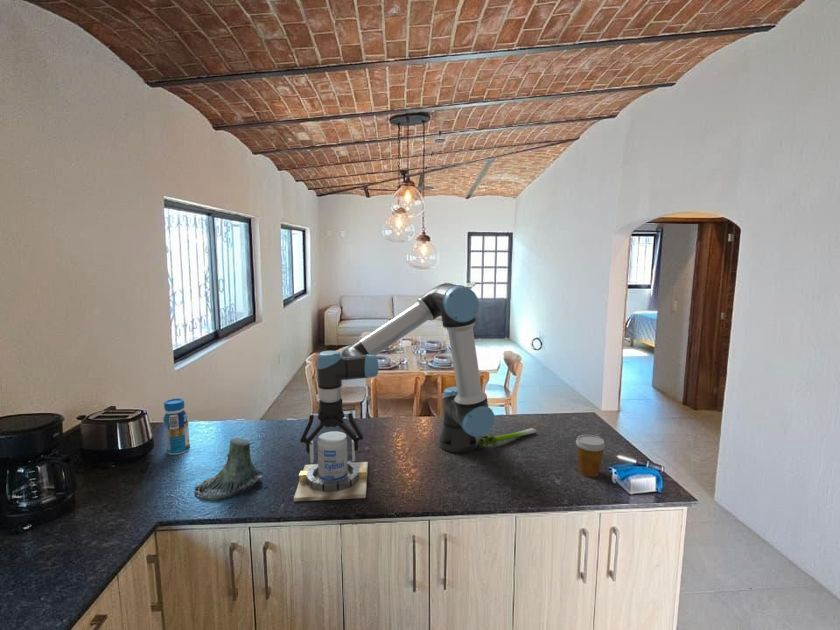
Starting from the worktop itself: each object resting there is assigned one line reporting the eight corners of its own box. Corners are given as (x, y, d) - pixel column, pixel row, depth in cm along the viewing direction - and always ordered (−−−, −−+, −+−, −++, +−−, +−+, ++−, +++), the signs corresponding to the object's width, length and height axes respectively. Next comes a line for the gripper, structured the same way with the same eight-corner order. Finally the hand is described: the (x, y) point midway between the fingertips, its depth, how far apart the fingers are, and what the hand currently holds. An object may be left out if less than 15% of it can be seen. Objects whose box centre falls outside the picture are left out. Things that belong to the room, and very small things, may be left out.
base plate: (367, 465, 169) (367, 461, 169) (365, 497, 148) (365, 494, 147) (305, 467, 167) (305, 464, 167) (294, 501, 146) (293, 497, 146)
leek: (539, 440, 195) (485, 453, 177) (526, 436, 200) (473, 449, 183) (538, 425, 195) (485, 437, 177) (526, 422, 200) (472, 433, 183)
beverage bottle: (160, 453, 180) (156, 403, 177) (179, 444, 188) (175, 396, 184) (177, 457, 177) (172, 405, 174) (195, 448, 184) (191, 398, 181)
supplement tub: (325, 488, 151) (323, 445, 149) (314, 476, 159) (312, 435, 156) (353, 480, 156) (351, 437, 154) (341, 468, 164) (339, 428, 162)
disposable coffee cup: (603, 468, 165) (604, 436, 164) (604, 481, 157) (606, 447, 155) (574, 464, 169) (576, 432, 167) (574, 477, 160) (575, 443, 158)
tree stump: (199, 478, 162) (210, 427, 161) (260, 484, 167) (270, 435, 167) (188, 503, 144) (199, 447, 143) (256, 509, 150) (267, 454, 149)
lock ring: (367, 465, 167) (366, 458, 166) (365, 490, 150) (365, 482, 149) (304, 468, 165) (303, 461, 164) (295, 493, 148) (295, 486, 148)
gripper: (369, 393, 158) (371, 453, 161) (293, 396, 156) (296, 457, 159) (368, 401, 150) (370, 463, 154) (289, 404, 148) (292, 467, 152)
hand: (333, 460), depth 156 cm, fingers open, 13 cm apart
